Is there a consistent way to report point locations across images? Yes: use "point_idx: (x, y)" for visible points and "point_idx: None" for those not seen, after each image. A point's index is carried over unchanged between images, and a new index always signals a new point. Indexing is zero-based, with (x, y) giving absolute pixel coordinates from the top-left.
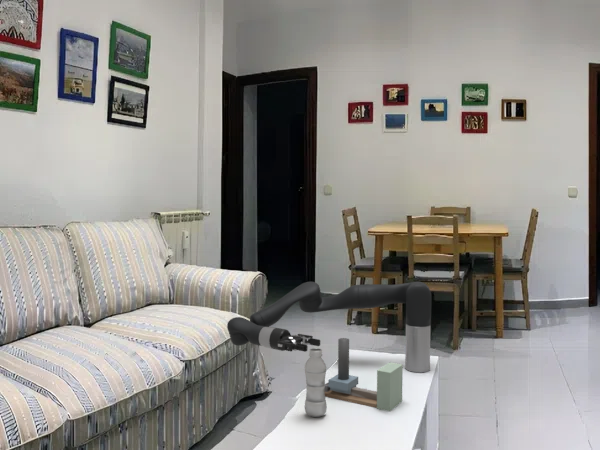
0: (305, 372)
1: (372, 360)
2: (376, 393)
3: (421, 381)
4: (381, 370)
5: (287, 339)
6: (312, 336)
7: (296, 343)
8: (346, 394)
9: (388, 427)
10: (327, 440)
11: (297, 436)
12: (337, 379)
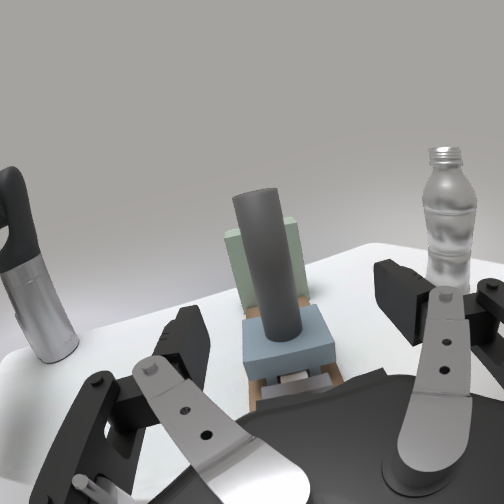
0: (475, 211)
1: (5, 418)
2: None
3: (124, 326)
4: (290, 221)
5: (469, 452)
6: (102, 371)
7: (439, 287)
8: None
9: (357, 263)
10: None
11: (497, 275)
12: (308, 331)
